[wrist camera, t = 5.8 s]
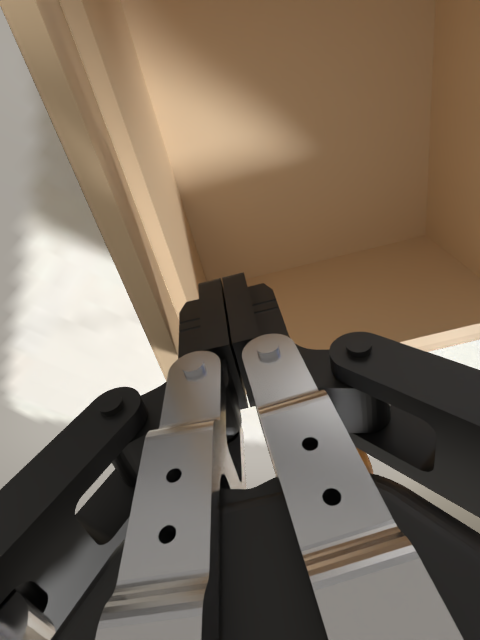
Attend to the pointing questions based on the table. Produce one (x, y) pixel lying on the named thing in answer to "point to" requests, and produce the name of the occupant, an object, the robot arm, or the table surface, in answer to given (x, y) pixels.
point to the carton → (303, 153)
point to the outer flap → (95, 163)
